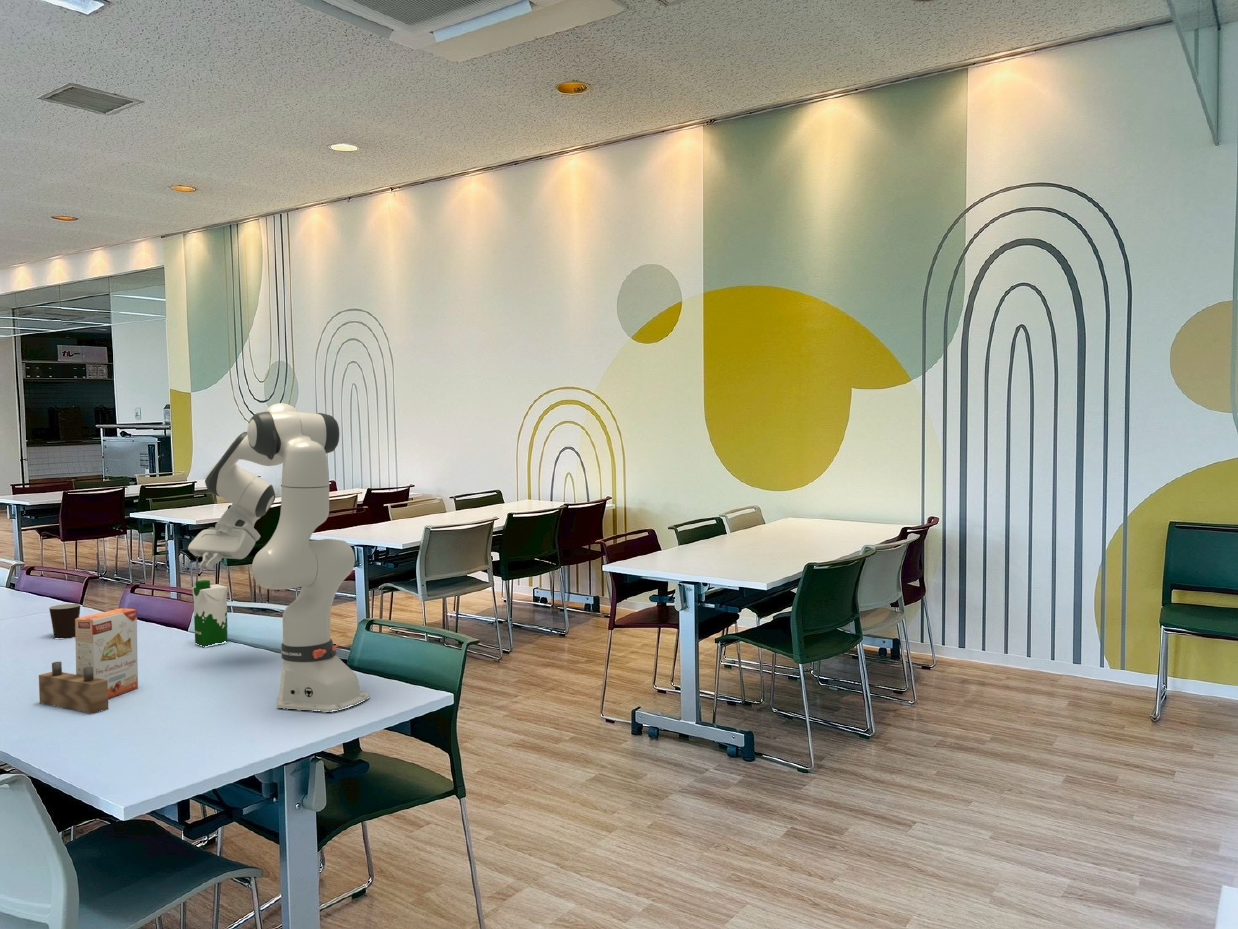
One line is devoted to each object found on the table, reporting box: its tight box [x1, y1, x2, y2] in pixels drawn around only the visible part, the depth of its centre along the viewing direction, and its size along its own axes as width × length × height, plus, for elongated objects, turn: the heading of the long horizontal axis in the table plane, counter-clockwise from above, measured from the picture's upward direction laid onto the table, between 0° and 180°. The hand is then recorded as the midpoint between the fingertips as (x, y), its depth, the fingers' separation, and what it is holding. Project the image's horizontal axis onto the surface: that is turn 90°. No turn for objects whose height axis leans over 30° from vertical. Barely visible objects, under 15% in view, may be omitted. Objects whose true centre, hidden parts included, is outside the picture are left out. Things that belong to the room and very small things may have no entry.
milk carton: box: [191, 579, 229, 648], centre depth 278 cm, size 9×9×20 cm
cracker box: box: [74, 607, 139, 699], centre depth 224 cm, size 14×6×21 cm, turn 165°
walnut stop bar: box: [38, 661, 109, 715], centre depth 216 cm, size 20×4×10 cm, turn 64°
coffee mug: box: [49, 603, 81, 639], centre depth 291 cm, size 12×9×10 cm
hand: (204, 567), depth 245 cm, fingers closed
